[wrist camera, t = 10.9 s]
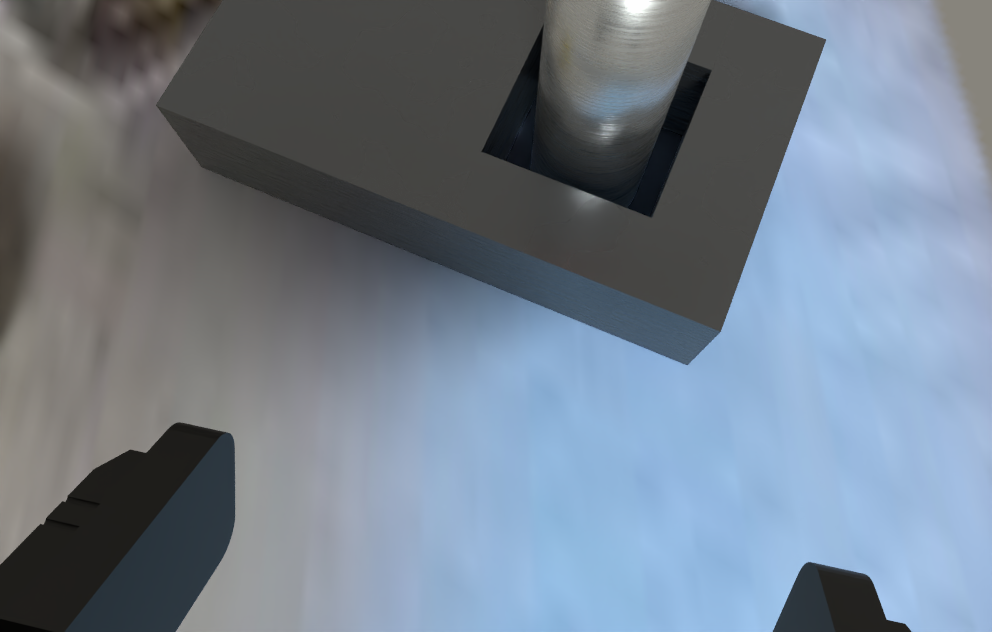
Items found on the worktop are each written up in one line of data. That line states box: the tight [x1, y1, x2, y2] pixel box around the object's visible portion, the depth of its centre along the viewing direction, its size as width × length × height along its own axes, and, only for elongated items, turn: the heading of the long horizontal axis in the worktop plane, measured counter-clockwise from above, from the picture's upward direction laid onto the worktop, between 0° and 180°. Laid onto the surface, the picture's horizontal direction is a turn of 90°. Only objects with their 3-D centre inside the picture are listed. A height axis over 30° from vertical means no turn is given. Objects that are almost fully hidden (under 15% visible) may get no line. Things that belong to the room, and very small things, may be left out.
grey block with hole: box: [156, 0, 826, 365], centre depth 23 cm, size 16×9×4 cm, turn 67°
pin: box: [530, 0, 711, 208], centre depth 19 cm, size 3×3×12 cm
